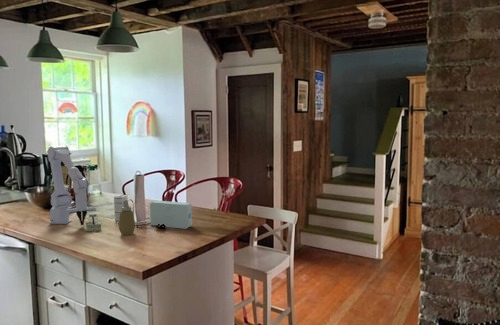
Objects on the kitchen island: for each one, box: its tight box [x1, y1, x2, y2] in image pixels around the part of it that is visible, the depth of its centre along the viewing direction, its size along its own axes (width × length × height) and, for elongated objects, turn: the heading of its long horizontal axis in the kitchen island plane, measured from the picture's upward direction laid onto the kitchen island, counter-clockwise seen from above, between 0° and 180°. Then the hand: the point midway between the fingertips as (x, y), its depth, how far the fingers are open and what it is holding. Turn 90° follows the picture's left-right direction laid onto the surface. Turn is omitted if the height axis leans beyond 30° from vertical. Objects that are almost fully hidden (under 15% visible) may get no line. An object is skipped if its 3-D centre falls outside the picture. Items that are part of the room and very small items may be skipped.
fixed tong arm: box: [88, 213, 102, 232], centre depth 223 cm, size 22×6×4 cm, turn 23°
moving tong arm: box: [86, 216, 94, 232], centre depth 220 cm, size 18×3×4 cm, turn 23°
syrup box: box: [113, 194, 129, 222], centre depth 236 cm, size 6×6×14 cm
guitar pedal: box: [149, 200, 193, 230], centre depth 222 cm, size 23×6×13 cm, turn 71°
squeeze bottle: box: [118, 200, 136, 237], centre depth 206 cm, size 8×8×18 cm
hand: (82, 224), depth 220 cm, fingers closed
